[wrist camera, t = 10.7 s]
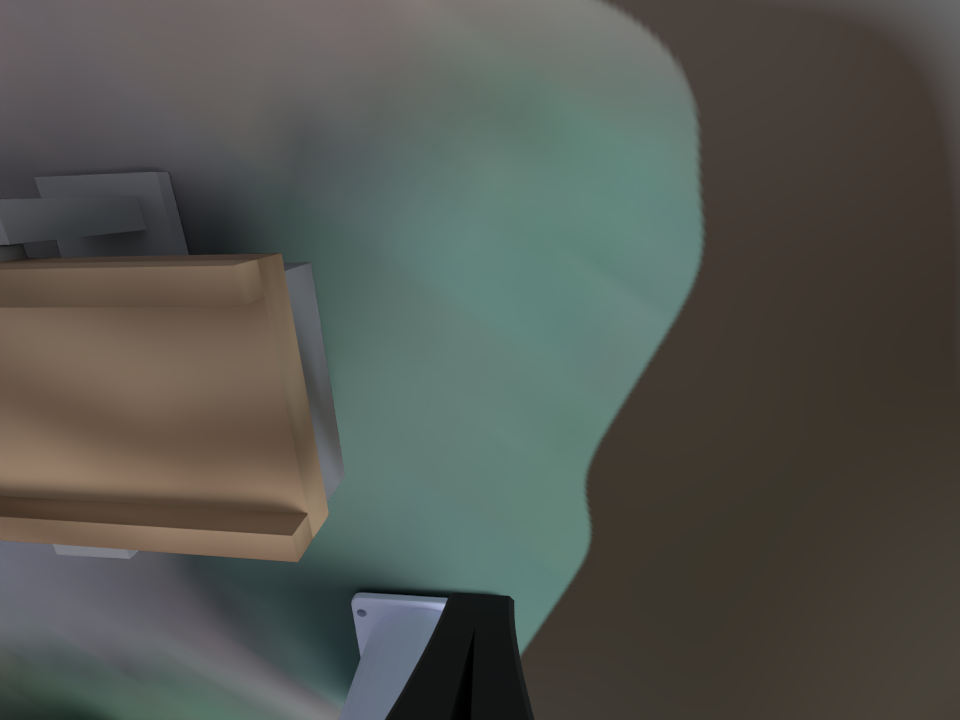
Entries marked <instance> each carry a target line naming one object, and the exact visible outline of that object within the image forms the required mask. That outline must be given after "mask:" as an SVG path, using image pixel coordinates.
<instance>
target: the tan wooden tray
mask: <svg viewBox="0 0 960 720" xmlns="http://www.w3.org/2000/svg"><path fill="white" fill-rule="evenodd" d="M344 477H345V472H344V465H343V459H342V453H341V447H340V441H339V434H338V428H337V422H336V416H335V410H334V403H333V397H332V391H331V385H330V379H329V372H328V366H327V360H326V354H325V348H324V341H323V335H322V329H321V323H320V317H319V310H318V304H317V298H316V292H315V286H314V279H313V273H312V267H311V263H283V260H282V254H281V253H270V254H220V255H169V256H119V257H68V258H28V257H27V254H26V252H25V249H24V246H23V244H12V245H0V540H3V541H17V542H30V543H44V544H58V545H71V546H85V547H98V548H112V549H126V550H139V551H153V552H166V553H180V554H194V555H207V556H221V557H234V558H248V559H262V560H275V561H289V562H298V561H299V560H300V558H301V557H302V555H303V554H304V552H305V551H306V549H307V547H308V546H309V544H310V543H311V541H312V540H313V538H314V537H315V535H316V534H317V532H318V531H319V529H320V528H321V526H322V524H323V523H324V521H325V520H326V518H327V517H328V515H329V512H328V507H327V502H328V500H329V499H330V497H331V496H332V494H333V493H334V491H335V490H336V489H337V487H338V486H339V484H340V483H341V481H342V480H343V478H344Z"/></svg>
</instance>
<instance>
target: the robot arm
mask: <svg viewBox="0 0 960 720" xmlns="http://www.w3.org/2000/svg"><path fill="white" fill-rule="evenodd" d="M351 606H352V611H353V617H354V623H355V628H356V634H357V640H358V645H359V651H360V657H361V659H360V662H359V665H358V668H357V670H356V673H355V676H354V679H353V681H352V684H351V687H350V690H349V692H348V695H347V698H346V701H345V703H344V706H343V709H342V712H341V714H340V717H339V720H534V716H533V712H532V708H531V704H530V700H529V696H528V692H527V688H526V684H525V680H524V675H523V671H522V666H521V661H520V655H519V649H518V644H517V637H516V629H515V618H514V600H513V599H512V598H511V597H510V596H502V595H486V594H470V593H452V594H451V595H449V596H448V598H440V597H424V596H409V595H393V594H377V593H357V594H355V595H354V597H353V599H352V602H351Z"/></svg>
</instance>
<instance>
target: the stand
mask: <svg viewBox="0 0 960 720" xmlns="http://www.w3.org/2000/svg"><path fill="white" fill-rule="evenodd" d="M34 179H35V182H36V185H37V188H38V191H39V194H40V197H41V198H31V199H0V245H12V244H21V243H30V242H39V241H48V240H56V243H57V246H58V248H59V251H60V254H61V257H62V258H68V257H119V256H169V255H189V252H188V248H187V244H186V240H185V236H184V232H183V229H182V225H181V221H180V217H179V213H178V209H177V205H176V201H175V197H174V193H173V189H172V185H171V181H170V177H169V173H168V172H138V173H116V174H93V175H71V176H49V177H34ZM52 545H53V547H54V549H55V552H56V554H57V555H71V556H88V557H105V558H122V559H131V558H132V557H133V556H134V555H135V554H136V553H137V552H138V551H139V550H126V549H112V548H98V547H85V546H71V545H58V544H52Z"/></svg>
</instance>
